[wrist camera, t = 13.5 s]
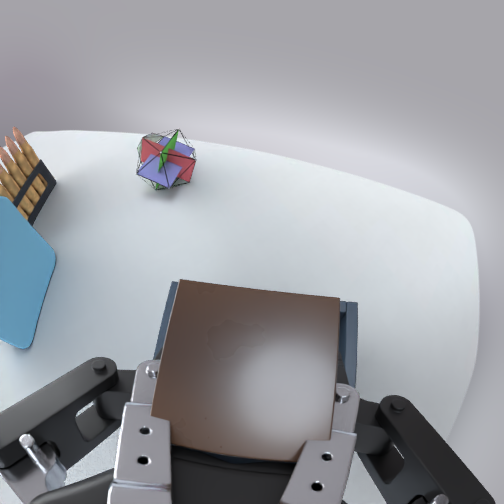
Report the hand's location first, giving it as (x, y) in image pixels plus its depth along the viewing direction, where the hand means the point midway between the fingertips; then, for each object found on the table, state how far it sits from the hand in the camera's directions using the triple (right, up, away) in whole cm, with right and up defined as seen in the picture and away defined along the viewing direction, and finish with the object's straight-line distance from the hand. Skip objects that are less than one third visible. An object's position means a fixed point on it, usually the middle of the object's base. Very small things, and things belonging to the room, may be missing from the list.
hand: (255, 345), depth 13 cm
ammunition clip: (-31, +10, +19) cm, 38 cm away
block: (0, -4, +3) cm, 4 cm away
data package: (-25, -1, +13) cm, 28 cm away
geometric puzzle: (-10, +13, +21) cm, 26 cm away
